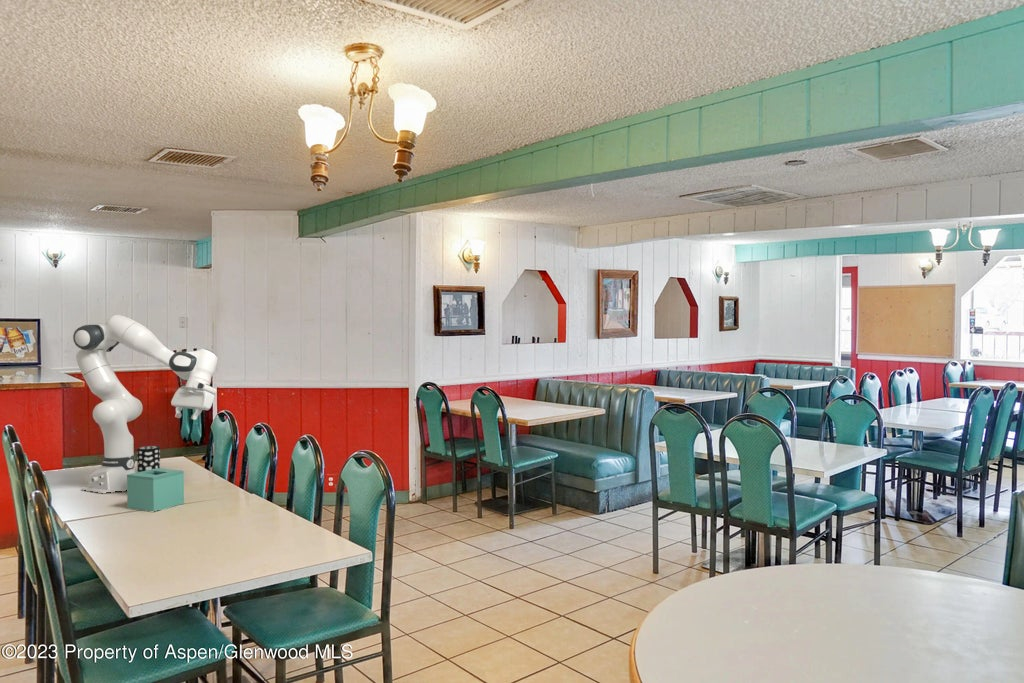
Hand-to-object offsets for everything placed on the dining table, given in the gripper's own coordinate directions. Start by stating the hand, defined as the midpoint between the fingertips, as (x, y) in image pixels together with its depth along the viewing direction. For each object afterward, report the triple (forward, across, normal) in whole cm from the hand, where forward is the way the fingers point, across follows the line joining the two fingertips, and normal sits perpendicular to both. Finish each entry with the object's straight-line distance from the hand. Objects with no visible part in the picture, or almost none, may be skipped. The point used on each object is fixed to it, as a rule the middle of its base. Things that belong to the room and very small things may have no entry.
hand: (185, 418), depth 300 cm
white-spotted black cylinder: (+32, -12, +6) cm, 35 cm away
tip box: (+36, +5, -2) cm, 36 cm away
